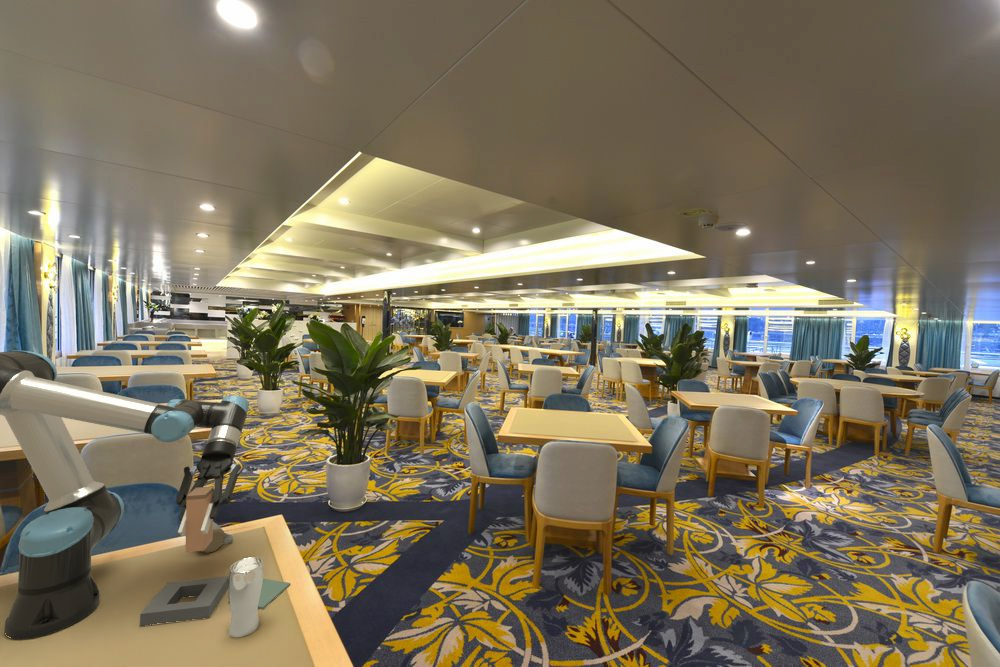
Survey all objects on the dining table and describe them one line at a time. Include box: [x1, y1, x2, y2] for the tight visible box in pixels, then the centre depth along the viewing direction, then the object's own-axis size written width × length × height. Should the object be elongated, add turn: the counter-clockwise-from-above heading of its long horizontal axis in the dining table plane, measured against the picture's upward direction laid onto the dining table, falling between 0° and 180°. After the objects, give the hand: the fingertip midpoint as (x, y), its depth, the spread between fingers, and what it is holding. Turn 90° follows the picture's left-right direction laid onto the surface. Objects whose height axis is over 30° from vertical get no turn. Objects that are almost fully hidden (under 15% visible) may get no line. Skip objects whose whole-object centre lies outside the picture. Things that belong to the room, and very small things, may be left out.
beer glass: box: [227, 556, 264, 639], centre depth 95 cm, size 7×7×15 cm
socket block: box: [139, 575, 229, 627], centre depth 102 cm, size 14×12×3 cm
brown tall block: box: [185, 486, 214, 553], centre depth 102 cm, size 4×5×14 cm
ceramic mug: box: [201, 521, 234, 554], centre depth 128 cm, size 11×8×8 cm
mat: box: [228, 578, 291, 610], centre depth 107 cm, size 10×10×1 cm
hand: (192, 533), depth 99 cm, fingers closed on brown tall block, 4 cm apart
